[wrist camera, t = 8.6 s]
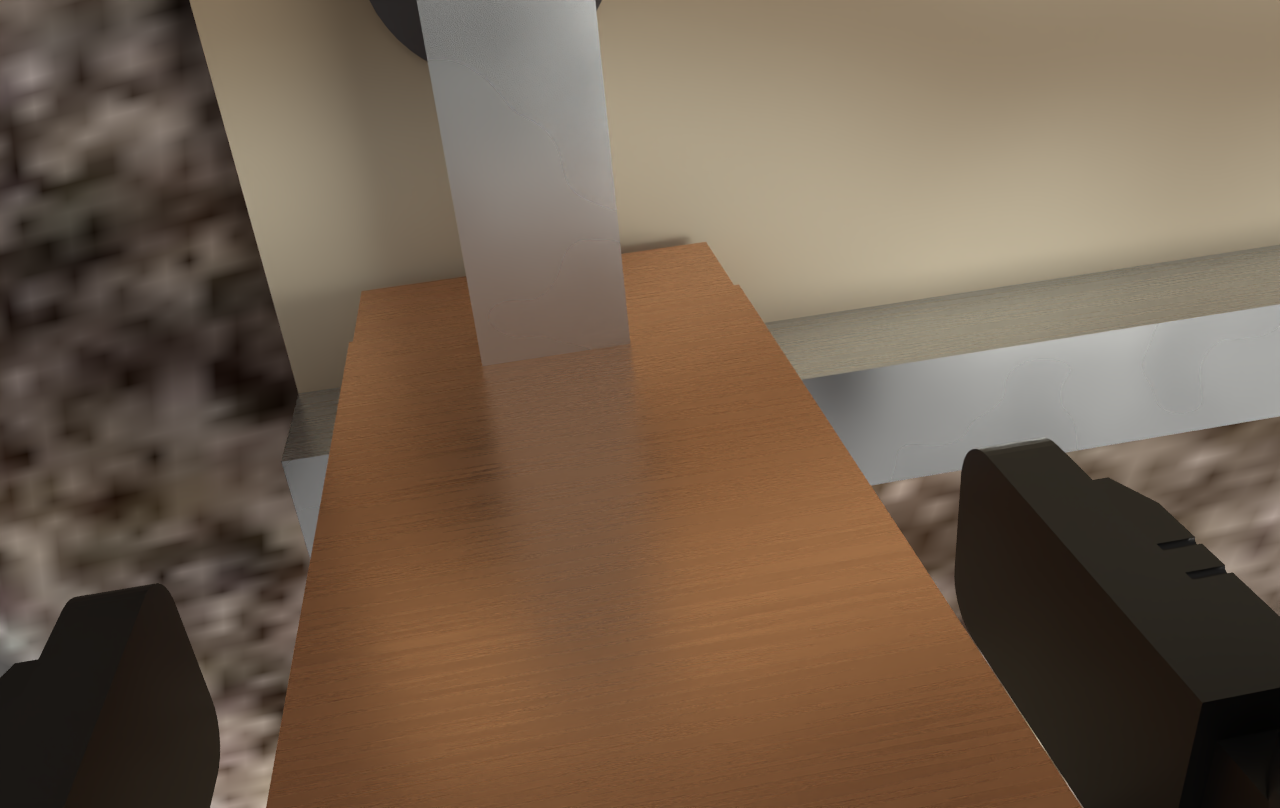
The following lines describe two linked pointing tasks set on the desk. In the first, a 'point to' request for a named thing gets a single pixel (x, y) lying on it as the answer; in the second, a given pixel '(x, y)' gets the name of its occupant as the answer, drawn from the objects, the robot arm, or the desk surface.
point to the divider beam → (999, 368)
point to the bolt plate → (778, 144)
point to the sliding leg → (607, 517)
